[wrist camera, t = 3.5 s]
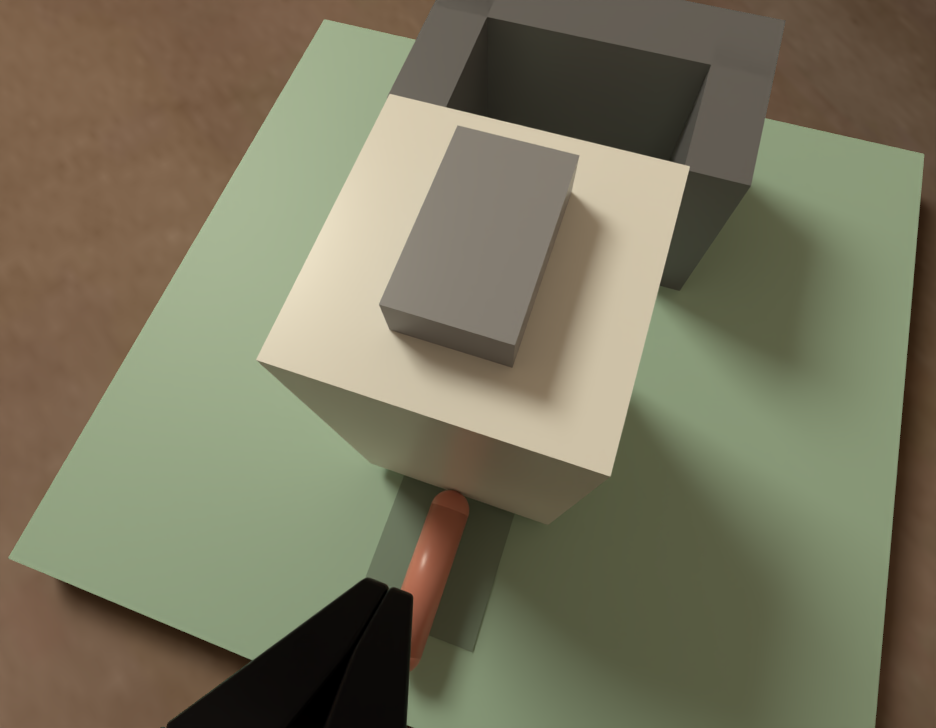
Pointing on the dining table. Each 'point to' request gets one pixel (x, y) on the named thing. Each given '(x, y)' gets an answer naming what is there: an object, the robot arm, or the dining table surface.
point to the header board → (505, 533)
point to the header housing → (615, 87)
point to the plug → (479, 315)
